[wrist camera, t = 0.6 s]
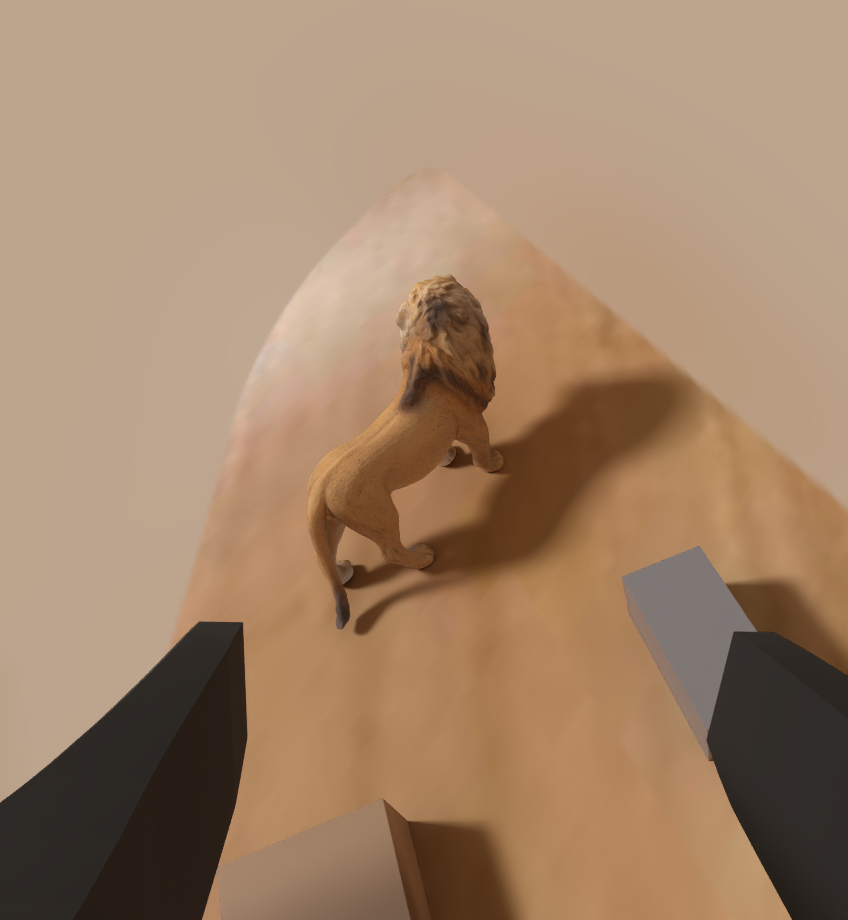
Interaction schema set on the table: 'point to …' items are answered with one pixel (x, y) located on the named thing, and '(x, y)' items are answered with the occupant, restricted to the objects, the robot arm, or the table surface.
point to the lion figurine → (408, 431)
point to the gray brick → (687, 629)
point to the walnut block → (331, 873)
